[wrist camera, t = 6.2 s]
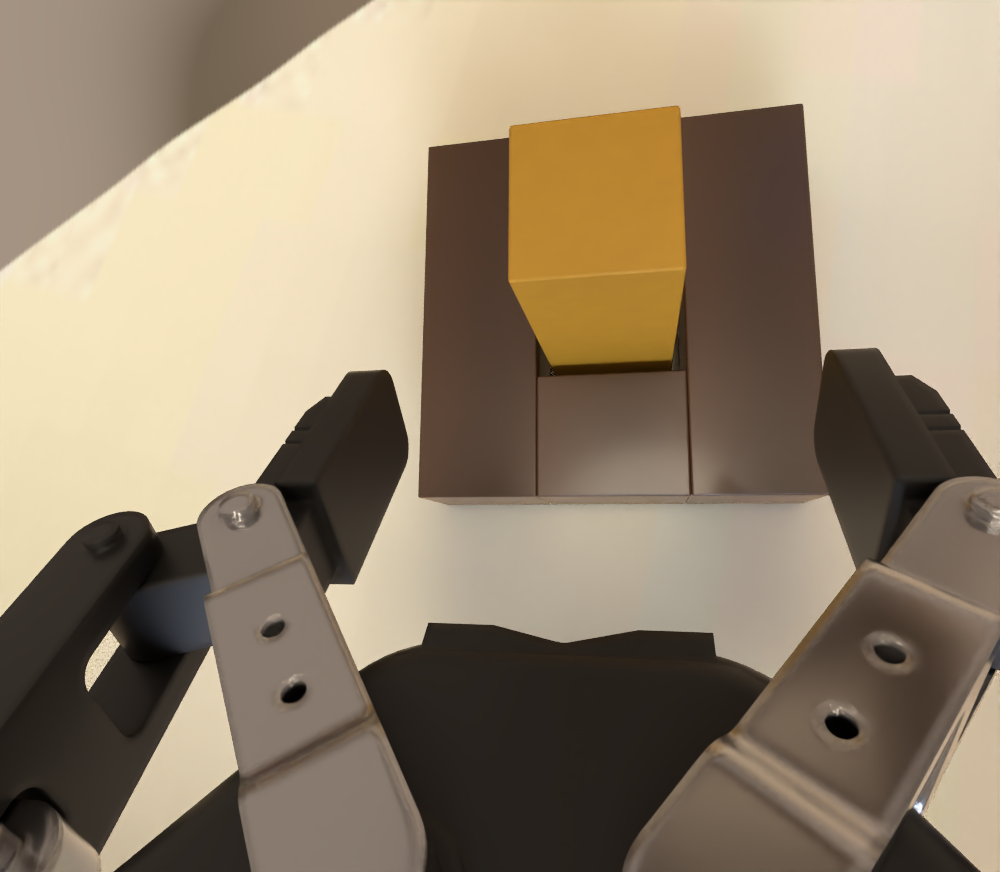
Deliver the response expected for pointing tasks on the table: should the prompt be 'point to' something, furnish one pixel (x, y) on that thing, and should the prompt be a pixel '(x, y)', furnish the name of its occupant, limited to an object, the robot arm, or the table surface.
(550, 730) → the robot arm
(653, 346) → the ochre peg
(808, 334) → the walnut stand
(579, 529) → the table surface
